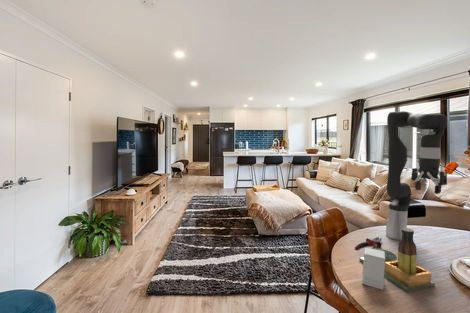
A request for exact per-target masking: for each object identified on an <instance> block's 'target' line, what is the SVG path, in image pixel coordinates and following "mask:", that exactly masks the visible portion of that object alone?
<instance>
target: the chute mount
mask: <svg viewBox="0 0 470 313" xmlns="http://www.w3.org/2000/svg"><path fill="white" fill-rule="evenodd" d="M372 248H373V247H372ZM373 249H375V250H380V251H384V252H385V269H384V279H387V280H389V281H390V282H391V283H393V284H394V285H396V286H397V287H400V288H401V289H402V290H404V291H405V292H407V293H408V292H412V291H419V290H423V289H428V288H432V287H433V288H434V287H436V283H435V282H434V281H432V273H431V271H428V270H427V269H424V268H423V267H420V266H419V265H417V270H416V274H411V275H409V274H407V273H405V272H403V271H402V270H400V269H398V255H397V254H395V253H393V252H392V251H389V250H386V249H383V248H378V247H377V248H373ZM363 261H364V256H362V257H359V262H361V263H362V264H363Z"/></svg>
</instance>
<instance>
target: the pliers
mask: <svg viewBox="0 0 470 313" xmlns="http://www.w3.org/2000/svg"><path fill="white" fill-rule="evenodd" d="M382 240H383V238H382V237H379V236H377V237H375V238H373V239H369V238H365V241H363V242H360V243H358V244H356V245H355V246H354V250H360V249H361V248H363V247H365V246H372V248H371V249H373V248H377V249H378V248H379V249H382V243H381V242H382Z"/></svg>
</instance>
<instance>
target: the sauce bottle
mask: <svg viewBox="0 0 470 313" xmlns="http://www.w3.org/2000/svg"><path fill="white" fill-rule="evenodd" d="M414 234H415V231H414V230H413V229H412V228H402V240H399V241H400V242H399V243H398V247H397V248H398V249H397V250H398V251H397V260H398V269H400V270H402V271H403V272H405V273H407V274H409V275H411V274H416V270H417V266H418V265H417V259H418V257H417V256H418V255H417V245H416V243H415V242H414Z"/></svg>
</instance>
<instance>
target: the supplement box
mask: <svg viewBox="0 0 470 313" xmlns="http://www.w3.org/2000/svg"><path fill="white" fill-rule="evenodd" d="M363 257H364V261H363V263H362V264H363V265H362V278H361V279H362V280H361V281H362V285H366V286H369V287H372V288H374V289H379V290H382V291H383V290H384V284H385V282H384V281H385V277H384V269H385V252H384V251H380V250H375V249H372V248H370V247H364V252H363Z"/></svg>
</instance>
